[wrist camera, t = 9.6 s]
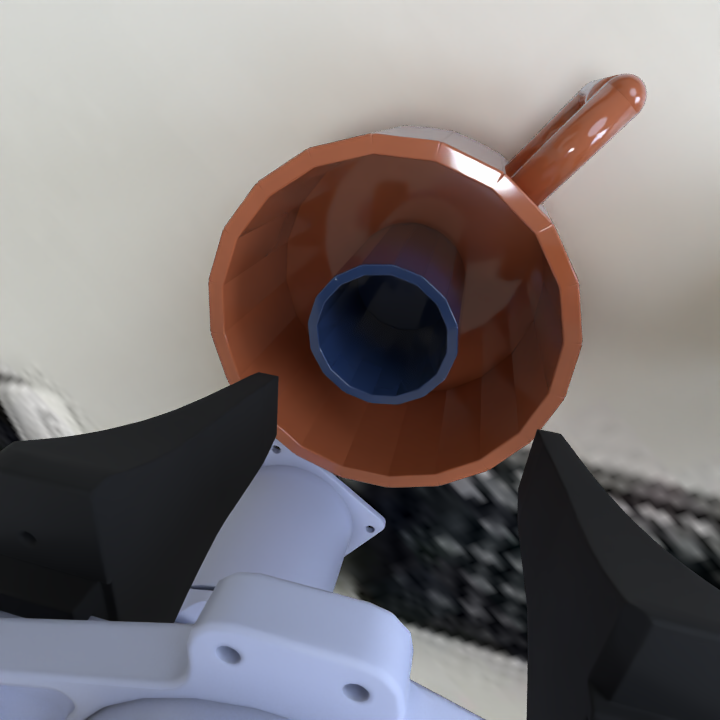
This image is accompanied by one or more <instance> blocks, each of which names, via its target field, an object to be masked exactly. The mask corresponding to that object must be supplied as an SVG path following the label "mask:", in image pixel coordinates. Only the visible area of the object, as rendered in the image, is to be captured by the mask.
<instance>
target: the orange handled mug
mask: <svg viewBox="0 0 720 720" xmlns="http://www.w3.org/2000/svg"><path fill="white" fill-rule="evenodd" d="M646 97H647V91H646V86H645V84H644V82H643V81H642V80H641V79H640V78H639V77H637V76H635V75H632V74H620V75H616V76H612V77H607V78H603V79H599V80H594V81H591V82H589V83H588V84H586V85H585V86H584V87H583V88H582V89H581V90H580V91H579V92H578V93H577V94H576V95H575V96H574V97H573V98H572V99H571V100H570V101H569V102H568V103H567V104H566V105H565V106H564V107H563V108H562V109H561V110H560V111H559V112H558V113H557V114H556V115H555V116H554V117H553V118H552V119H551V120H550V121H549V122H548V123H547V124H546V125H545V126H544V127H543V128H542V129H541V130H540V131H539V132H538V133H537V134H536V135H535V136H534V137H533V138H532V139H531V140H530V141H529V142H528V143H527V144H526V145H525V146H524V147H523V148H522V149H521V150H520V151H519V152H518V153H517V154H516V155H515V156H514V157H513V158H512V159H511V160H510V161H509V162H508V161H507V160H506V159H505V158H504V157H503V155H501V154H500V153H499V152H497V151H495V150H493V149H491V148H489V147H487V146H486V145H484V144H482V143H480V142H478V141H476V140H474V139H472V138H470V137H467V136H465V135H462V134H460V133H458V132H454V131H452V130H443V129H437V128H431V127H417V126H408V125H406V126H404V125H403V126H399V127H394V128H390V129H386V130H382V131H378V132H373V133H369V134H365V135H361V136H356V137H352V138H348V139H344V140H340V141H335V142H331V143H327V144H323V145H319V146H314V147H310V148H308V149H306V150H304V151H303V152H301V153H300V154H298V155H297V156H295V157H294V158H292V159H291V160H289V161H288V162H286V163H285V164H283V165H282V166H280V167H279V168H277V169H276V170H274V171H273V172H271V173H270V174H268V175H267V176H265V177H264V178H262V179H261V180H259V181H258V183H256V184H255V185H254V187H253V188H252V189H251V191H250V192H249V194H248V195H247V196H246V198H245V199H244V201H243V202H242V203H241V205H240V206H239V207H238V209H237V210H236V212H235V213H234V214H233V216H232V217H231V218H230V220H229V221H228V223H227V224H226V225H225V227H224V230H223V231H222V235H221V238H220V242H219V245H218V249H217V252H216V256H215V259H214V263H213V266H212V270H211V273H210V277H209V282H208V285H209V308H210V331H211V332H212V333H211V335H212V338H213V341H214V344H215V347H216V349H217V352H218V355H219V358H220V361H221V364H222V366H223V369H224V372H225V375H226V378H227V380H228V382H229V384H230V385H232V384H234V383H236V382H238V381H240V380H242V379H244V378H246V377H248V376H250V375H253V374H255V373H258V372H261V373H266V374H270V375H275V376H279V382H278V413H277V436H276V439H277V440H278V441H279V442H281V443H282V444H283V445H284V446H285V447H286V448H288V449H289V450H290V451H291V452H292V453H294V454H295V455H297V456H299V457H301V458H303V459H305V460H307V461H309V462H311V463H313V464H315V465H317V466H319V467H321V468H323V469H325V470H327V471H329V472H331V473H333V474H335V475H337V476H340V477H342V478H347V479H351V480H356V481H360V482H365V483H369V484H374V485H378V486H383V487H390V488H392V487H423V486H439V485H444V484H447V483H450V482H453V481H457V480H460V479H463V478H466V477H469V476H473V475H476V474H479V473H482V472H486V471H487V470H490V469H491V468H493V467H494V466H496V465H497V464H499V463H500V462H502V461H503V460H505V459H506V458H508V457H509V456H511V455H512V454H514V453H515V452H517V451H518V450H520V449H521V448H523V447H524V446H526V445H527V444H528V443H530V442H531V440H533V439H534V437H535V434H536V431H537V429H539V430H541V429H542V427H543V426H544V425H545V423H546V422H547V421H548V419H549V418H550V417H551V416H552V414H553V413H554V412H555V410H556V409H557V408H558V406H559V405H560V404H561V403H562V401H563V400H564V397H565V396H566V394H567V390H568V387H569V384H570V381H571V378H572V375H573V372H574V369H575V365H576V362H577V359H578V356H579V353H580V350H581V347H582V323H581V304H580V285H579V283H578V278H577V276H576V274H575V271H574V269H573V267H572V264H571V262H570V260H569V258H568V255H567V253H566V251H565V248H564V246H563V244H562V242H561V239H560V237H559V235H558V233H557V230H556V228H555V226H554V224H553V222H552V220H551V218H550V216H549V214H548V213H547V211H546V209H545V207H544V205H543V202H544V201H545V200H546V199H547V198H548V197H549V196H551V195H552V194H553V193H554V192H555V191H556V190H557V189H558V188H559V187H560V186H561V185H562V184H563V183H565V182H566V181H567V180H568V179H569V178H570V177H571V176H572V175H573V174H574V173H575V172H576V171H577V170H579V169H580V168H581V167H582V166H583V165H584V164H585V163H586V162H587V161H588V160H589V159H590V158H591V157H593V156H594V155H595V154H596V153H597V152H598V151H599V150H600V149H601V148H602V147H603V146H604V145H605V144H607V143H608V142H609V141H610V140H611V139H612V138H613V137H614V136H615V135H616V134H617V133H618V132H619V131H621V130H622V129H623V128H624V127H625V126H626V125H627V124H628V123H629V122H630V121H631V120H632V119H633V118H635V117H636V116H637V115H638V114H639V112H640V111H641V110H642V108H643V106H644V104H645V101H646ZM406 222H407V223H418V224H423V225H426V226H429V227H431V228H434V229H436V230H437V231H439V232H440V233H442V234H443V235H445V236H446V237H447V238H448V239H449V240H450V241H451V242H452V243H453V244H454V246H455V247H456V249H457V250H458V252H459V254H460V256H461V258H462V260H463V263H464V267H465V272H466V285H465V300H464V307H463V315H462V323H461V331H460V339H459V347H458V354H457V357H456V359H455V361H454V363H453V365H452V367H451V369H450V371H449V373H448V375H447V377H446V379H445V380H444V381H443V382H442V383H440V384H439V385H438V386H437V387H436V388H434V389H433V390H432V391H431V392H430V393H428V394H427V395H426V396H424V397H422V398H419V399H415V400H412V401H409V402H406V403H402V404H398V405H392V404H375V403H369V402H366V401H364V400H361V399H359V398H356V397H354V396H352V395H349V394H347V393H345V392H343V391H342V390H341V389H340V388H339V387H338V386H337V385H335V384H334V383H333V382H332V381H331V380H330V379H329V378H328V377H326V376H325V375H324V373H323V372H322V370H321V368H320V366H319V365H318V363H317V361H316V359H315V357H314V355H313V353H312V352H311V349H310V341H309V332H308V319H309V316H310V313H311V310H312V306H313V303H314V300H315V298H316V296H317V295H318V293H319V292H320V291H321V290H322V289H323V288H324V287H325V286H326V285H327V284H328V282H329V281H330V280H331V279H332V278H333V277H334V276H335V275H336V274H337V272H338V271H339V270H340V269H341V268H342V267H343V266H344V265H345V264H346V263H347V261H348V260H349V259H350V258H351V257H352V256H353V255H354V254H355V253H356V252H357V250H358V249H359V248H360V247H361V246H362V245H363V244H364V243H365V242H366V241H367V239H368V238H369V237H370V236H371V235H373V234H374V233H376V232H377V231H379V230H381V229H383V228H384V227H387V226H390V225H393V224H397V223H406Z"/></svg>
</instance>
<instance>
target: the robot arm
mask: <svg viewBox="0 0 720 720" xmlns="http://www.w3.org/2000/svg"><path fill="white" fill-rule="evenodd" d="M278 382H279V376H275V375H270V374H266V373H261V372H258V373H255V374H253V375H250V376H248V377H246V378H244V379H242V380H240V381H238V382H236V383H234V384H232V385H230V386H228V387H226V388H223V389H221V390H219V391H217V392H215V393H213V394H211V395H209V396H207V397H205V398H202V399H200V400H197V401H195V402H193V403H190V404H188V405H186V406H183V407H181V408H179V409H176V410H173V411H171V412H168V413H165V414H162V415H159V416H156V417H153V418H150V419H147V420H144V421H140V422H137V423H132V424H128V425H124V426H120V427H116V428H112V429H108V430H103V431H98V432H93V433H87V434H81V435H74V436H68V437H60V438H50V439H39V440H28V441H14V442H13V443H11V444H10V445H9V446H7V447H6V448H4V449H3V450H2V451H0V720H485V719H483V718H481V717H480V716H478V715H476V714H474V713H472V712H470V711H468V710H467V709H465V708H463V707H461V706H459V705H457V704H455V703H453V702H452V701H450V700H448V699H446V698H444V697H442V696H440V695H439V694H437V693H435V692H433V691H431V690H429V689H427V688H426V687H424V686H422V685H420V684H418V683H416V682H414V681H412V680H411V679H410V672H411V665H412V657H413V645H412V639H411V633H410V631H409V630H408V629H407V628H406V627H405V626H404V625H403V624H402V623H401V622H400V621H399V620H398V619H397V617H396V616H395V615H394V614H393V613H392V612H389V611H387V610H385V609H383V608H381V607H379V606H377V605H374V604H372V603H370V602H367V601H363V600H359V599H355V598H352V597H348V596H344V595H340V594H337V593H333V590H334V587H335V584H336V581H337V578H338V575H339V572H340V568H341V565H342V562H343V559H344V556H346V555H347V554H349V553H350V552H352V551H353V550H354V549H356V548H357V547H359V546H360V545H362V544H363V543H365V542H366V541H368V540H369V539H370V538H372V537H373V536H375V535H376V534H378V533H379V532H381V531H382V530H383V529H384V527H385V523H386V521H385V518H384V517H383V516H382V515H380V514H379V513H378V512H377V511H376V510H375V509H373V508H372V507H371V506H370V505H369V504H368V503H366V502H365V501H364V500H363V499H362V498H361V497H359V496H358V495H357V494H356V493H355V492H354V491H352V490H351V489H350V488H349V487H348V486H347V485H345V484H344V483H343V482H342V481H341V480H340V479H338V478H337V477H336V476H335V475H334V474H333V473H331V472H329V471H327V470H325V469H323V468H321V467H319V466H317V465H315V464H313V463H311V462H309V461H307V460H305V459H303V458H301V457H299V456H297V455H295V454H294V453H292V452H291V451H290V450H289V449H288V448H286V447H285V446H284V445H283V444H282V443H281V442H279V441H278V440H277V439H276V436H277V413H278ZM274 445H275V446H278V447H279V448H280V449H277V448H275V446H274ZM368 526H372V527H373V528H370V527H368ZM518 531H519V540H520V549H521V557H522V566H523V574H524V582H525V591H526V600H527V617H528V682H527V720H720V590H719V589H717V588H716V587H714V586H713V585H711V584H710V583H708V582H707V581H705V580H704V579H703V578H701V577H700V576H698V575H697V574H696V573H694V572H693V571H692V570H690V569H689V568H688V567H686V566H685V565H684V564H682V563H681V562H680V561H679V560H677V559H676V558H675V557H674V556H672V555H671V554H670V553H669V552H667V551H666V550H665V549H664V548H663V547H661V546H660V545H659V544H658V543H657V542H656V541H654V540H653V539H652V538H651V537H650V536H649V535H648V534H647V533H646V532H645V531H644V530H642V529H641V528H640V527H639V526H638V525H637V524H636V523H635V522H634V521H633V520H632V519H631V518H630V517H629V516H628V515H627V514H626V513H625V512H624V511H623V510H622V509H621V508H620V507H619V506H618V504H617V503H616V502H615V501H614V500H613V499H612V498H611V497H610V496H609V495H608V493H607V492H606V491H605V490H604V489H603V488H602V486H601V485H600V484H599V483H598V482H597V480H596V479H595V478H594V477H593V475H592V474H591V473H590V472H589V470H588V469H587V468H586V466H585V465H584V464H583V463H582V461H581V460H580V459H579V457H578V456H577V455H576V453H575V452H574V451H573V449H572V448H571V446H570V445H569V444H568V442H567V441H566V440H565V439H564V437H563V436H562V435H561V434H558V433H553V432H548V431H544V430H539V429H537V431H536V434H535V437H534V441H533V444H532V447H531V450H530V453H529V457H528V460H527V463H526V466H525V469H524V472H523V476H522V479H521V482H520V485H519V488H518Z"/></svg>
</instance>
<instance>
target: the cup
mask: <svg viewBox="0 0 720 720" xmlns="http://www.w3.org/2000/svg"><path fill="white" fill-rule="evenodd" d="M465 285H466V272H465V267H464V263H463V260H462V258H461V256H460V254H459V252H458V250H457V249H456V247H455V246H454V244H453V243H452V242H451V241H450V240H449V239H448V238H447V237H446V236H445V235H443V234H442V233H440V232H439V231H437V230H436V229H434V228H431V227H429V226H426V225H423V224H418V223H407V222H406V223H397V224H393V225H390V226H387V227H384V228H383V229H381V230H379V231H377V232H376V233H374V234H373V235H371V236H370V237H369V238H368V239H367V241H366V242H365V243H364V244H363V245H362V246H361V247H360V248H359V249H358V250H357V252H356V253H355V254H354V255H353V256H352V257H351V258H350V259H349V260H348V261H347V263H346V264H345V265H344V266H343V267H342V268H341V269H340V270H339V271H338V272H337V274H336V275H335V276H334V277H333V278H332V279H331V280H330V281H329V282H328V284H327V285H326V286H325V287H324V288H323V289H322V290H321V291H320V292H319V293H318V295H317V296H316V298H315V300H314V303H313V306H312V310H311V313H310V316H309V319H308V332H309V341H310V349H311V352H312V353H313V355H314V357H315V359H316V361H317V363H318V365H319V366H320V368H321V370H322V372H323V373H324V375H325V376H326V377H328V378H329V379H330V380H331V381H332V382H333V383H334V384H335V385H337V386H338V387H339V388H340V389H341V390H342V391H343V392H345V393H347V394H349V395H352V396H354V397H356V398H359V399H361V400H364V401H366V402H369V403H375V404H392V405H398V404H402V403H406V402H409V401H412V400H415V399H419V398H422V397H424V396H426V395H427V394H428V393H430V392H431V391H432V390H433V389H434V388H436V387H437V386H438V385H439V384H440V383H442V382H443V381H444V380H445V379H446V377H447V375H448V373H449V371H450V369H451V367H452V365H453V363H454V361H455V359H456V357H457V354H458V347H459V339H460V331H461V323H462V315H463V307H464V300H465Z"/></svg>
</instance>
